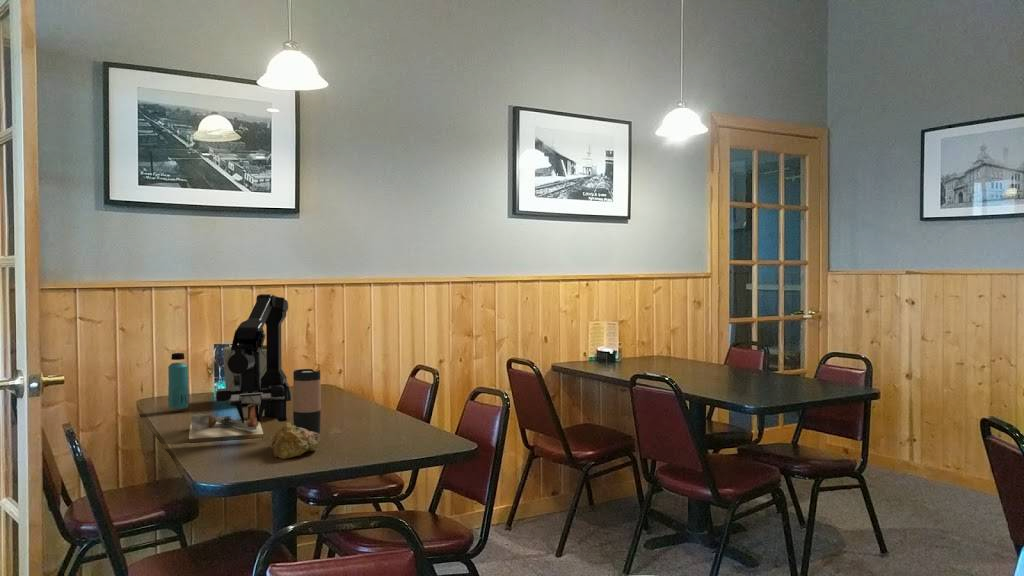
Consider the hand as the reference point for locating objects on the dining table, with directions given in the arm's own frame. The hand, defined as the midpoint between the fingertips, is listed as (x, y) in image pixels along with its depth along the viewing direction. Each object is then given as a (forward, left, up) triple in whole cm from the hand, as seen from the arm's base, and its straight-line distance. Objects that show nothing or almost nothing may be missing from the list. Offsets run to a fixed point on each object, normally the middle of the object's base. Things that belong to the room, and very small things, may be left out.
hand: (251, 422), depth 227 cm
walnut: (+11, -13, -3) cm, 18 cm away
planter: (-3, -62, -5) cm, 62 cm away
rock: (-10, +26, -5) cm, 28 cm away
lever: (+4, -8, -2) cm, 9 cm away
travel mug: (-15, +9, -5) cm, 18 cm away
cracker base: (+7, -9, -4) cm, 12 cm away
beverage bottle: (+21, -50, -5) cm, 54 cm away
